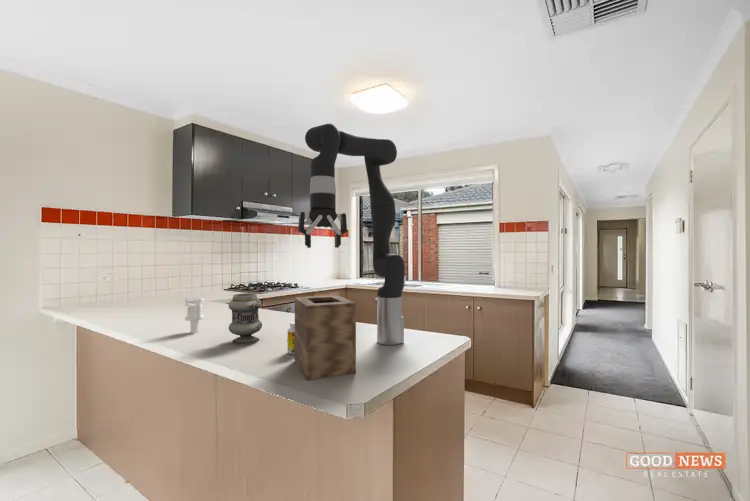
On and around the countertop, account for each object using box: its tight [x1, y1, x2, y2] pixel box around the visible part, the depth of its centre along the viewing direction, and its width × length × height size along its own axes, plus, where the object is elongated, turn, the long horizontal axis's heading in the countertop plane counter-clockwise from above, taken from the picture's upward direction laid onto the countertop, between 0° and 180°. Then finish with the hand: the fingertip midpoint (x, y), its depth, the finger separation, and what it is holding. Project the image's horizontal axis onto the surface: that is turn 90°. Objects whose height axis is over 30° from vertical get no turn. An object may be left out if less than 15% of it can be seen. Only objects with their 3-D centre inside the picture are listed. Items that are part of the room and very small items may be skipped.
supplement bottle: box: [287, 321, 295, 355], centre depth 124 cm, size 6×6×10 cm
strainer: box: [184, 296, 205, 334], centre depth 153 cm, size 7×7×15 cm
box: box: [294, 294, 357, 381], centre depth 109 cm, size 14×18×20 cm
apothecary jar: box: [228, 292, 263, 346], centre depth 138 cm, size 12×12×18 cm
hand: (323, 247), depth 108 cm, fingers open, 8 cm apart
